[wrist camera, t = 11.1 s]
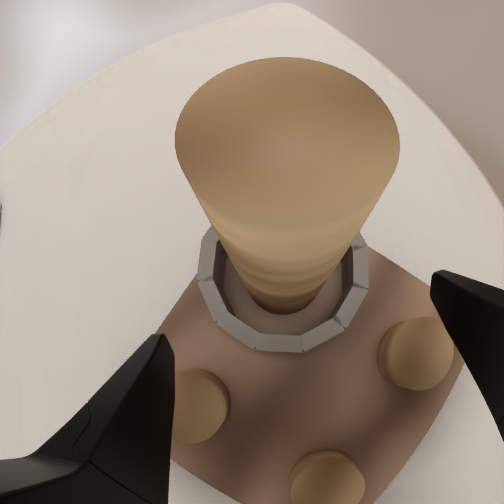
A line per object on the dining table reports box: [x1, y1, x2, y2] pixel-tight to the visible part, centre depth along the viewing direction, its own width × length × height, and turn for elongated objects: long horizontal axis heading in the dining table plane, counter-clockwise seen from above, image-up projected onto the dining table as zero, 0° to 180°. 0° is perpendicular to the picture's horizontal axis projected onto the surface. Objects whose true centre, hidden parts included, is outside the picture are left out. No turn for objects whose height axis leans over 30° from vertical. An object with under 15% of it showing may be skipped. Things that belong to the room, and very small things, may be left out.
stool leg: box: [175, 57, 400, 315], centre depth 11 cm, size 4×4×13 cm
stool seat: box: [155, 225, 465, 504], centre depth 15 cm, size 18×18×4 cm
